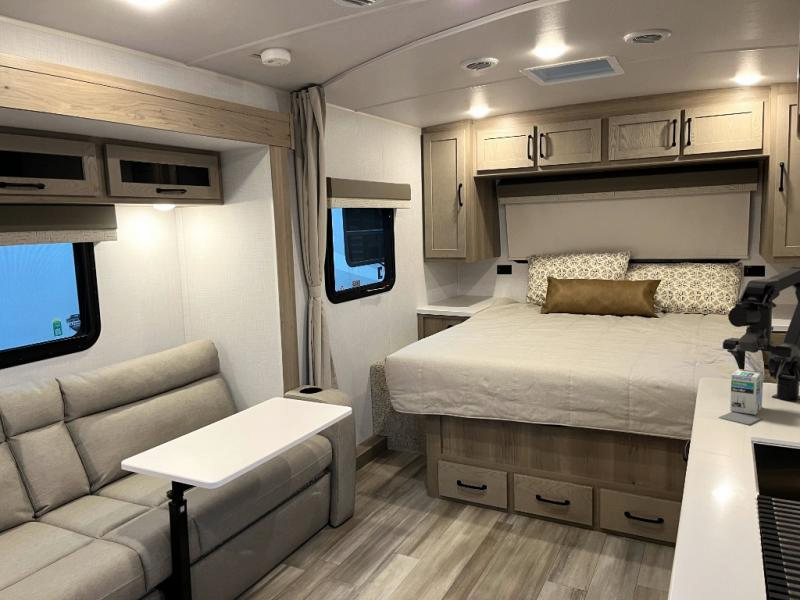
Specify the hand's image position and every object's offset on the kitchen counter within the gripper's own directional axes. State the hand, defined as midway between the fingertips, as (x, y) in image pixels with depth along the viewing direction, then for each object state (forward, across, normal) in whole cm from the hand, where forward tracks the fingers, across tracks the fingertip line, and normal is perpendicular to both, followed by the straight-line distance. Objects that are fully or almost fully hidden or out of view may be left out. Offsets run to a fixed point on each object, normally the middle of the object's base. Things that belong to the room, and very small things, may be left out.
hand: (758, 375), depth 178 cm
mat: (+9, +2, -16) cm, 19 cm away
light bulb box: (+9, 0, -7) cm, 11 cm away
